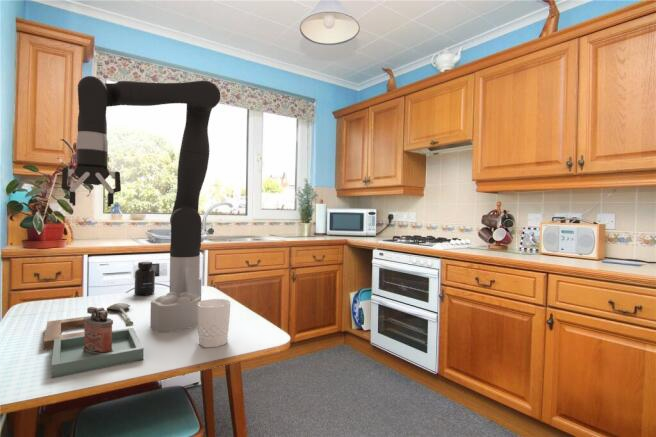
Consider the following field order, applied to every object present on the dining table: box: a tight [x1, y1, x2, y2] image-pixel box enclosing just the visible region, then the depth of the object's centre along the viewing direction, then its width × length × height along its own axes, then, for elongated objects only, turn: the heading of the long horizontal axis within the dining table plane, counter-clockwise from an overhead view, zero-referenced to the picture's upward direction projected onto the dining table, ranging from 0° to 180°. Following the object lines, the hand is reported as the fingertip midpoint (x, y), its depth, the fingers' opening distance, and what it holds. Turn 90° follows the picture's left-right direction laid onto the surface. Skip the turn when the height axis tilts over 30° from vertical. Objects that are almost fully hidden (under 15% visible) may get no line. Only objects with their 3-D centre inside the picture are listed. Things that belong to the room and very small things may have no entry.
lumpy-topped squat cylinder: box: [150, 291, 202, 334], centre depth 103 cm, size 10×13×9 cm
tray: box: [51, 327, 145, 379], centre depth 81 cm, size 16×16×2 cm
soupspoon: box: [106, 302, 134, 327], centre depth 110 cm, size 22×3×7 cm
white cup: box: [197, 298, 231, 348], centre depth 90 cm, size 8×8×10 cm
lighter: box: [83, 306, 114, 356], centre depth 81 cm, size 8×3×10 cm, turn 64°
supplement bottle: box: [133, 261, 156, 297], centre depth 137 cm, size 7×7×12 cm
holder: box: [43, 315, 89, 351], centre depth 93 cm, size 12×17×2 cm
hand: (92, 206), depth 105 cm, fingers open, 8 cm apart
